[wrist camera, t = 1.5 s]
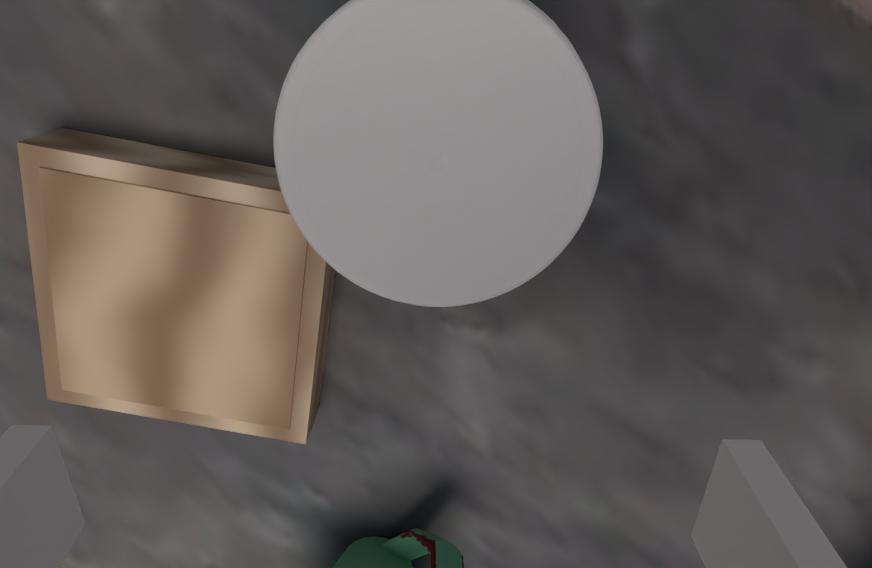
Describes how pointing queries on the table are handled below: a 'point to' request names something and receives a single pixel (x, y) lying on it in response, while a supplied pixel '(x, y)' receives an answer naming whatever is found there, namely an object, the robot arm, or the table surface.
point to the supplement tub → (438, 146)
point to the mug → (400, 552)
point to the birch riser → (173, 285)
